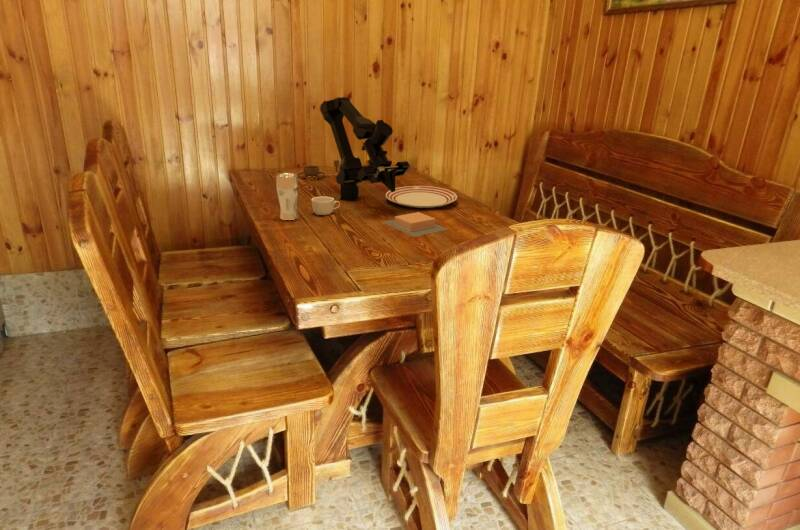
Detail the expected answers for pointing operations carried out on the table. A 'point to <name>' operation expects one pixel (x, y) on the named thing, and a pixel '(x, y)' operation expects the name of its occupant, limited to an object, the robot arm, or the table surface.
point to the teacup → (323, 205)
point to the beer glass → (287, 195)
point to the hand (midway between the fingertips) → (393, 191)
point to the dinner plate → (421, 196)
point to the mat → (417, 232)
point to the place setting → (315, 171)
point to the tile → (414, 221)
